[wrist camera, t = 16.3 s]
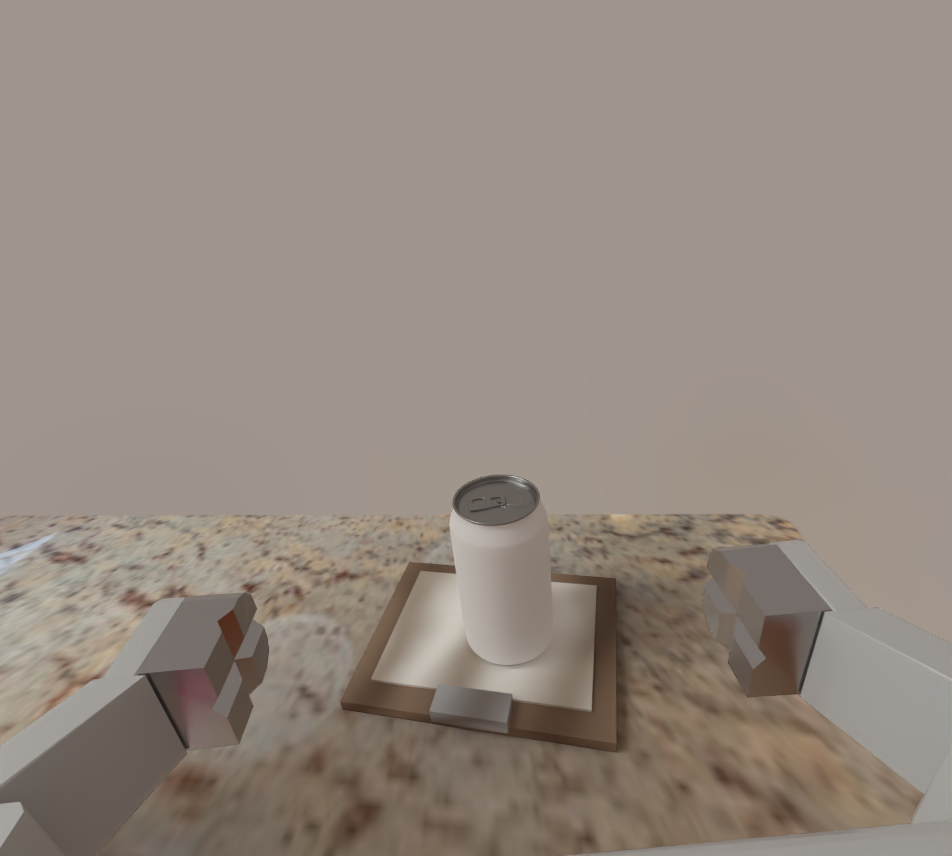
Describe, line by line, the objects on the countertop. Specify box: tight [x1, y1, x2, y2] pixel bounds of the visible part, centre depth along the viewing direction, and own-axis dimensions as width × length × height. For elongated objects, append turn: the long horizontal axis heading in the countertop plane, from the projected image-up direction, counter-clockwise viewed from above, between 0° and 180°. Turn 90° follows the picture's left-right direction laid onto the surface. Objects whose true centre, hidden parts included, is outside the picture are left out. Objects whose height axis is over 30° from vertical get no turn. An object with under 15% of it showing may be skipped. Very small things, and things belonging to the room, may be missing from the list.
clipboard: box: [340, 562, 616, 752], centre depth 40 cm, size 18×14×2 cm
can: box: [450, 475, 553, 665], centre depth 37 cm, size 6×6×12 cm
